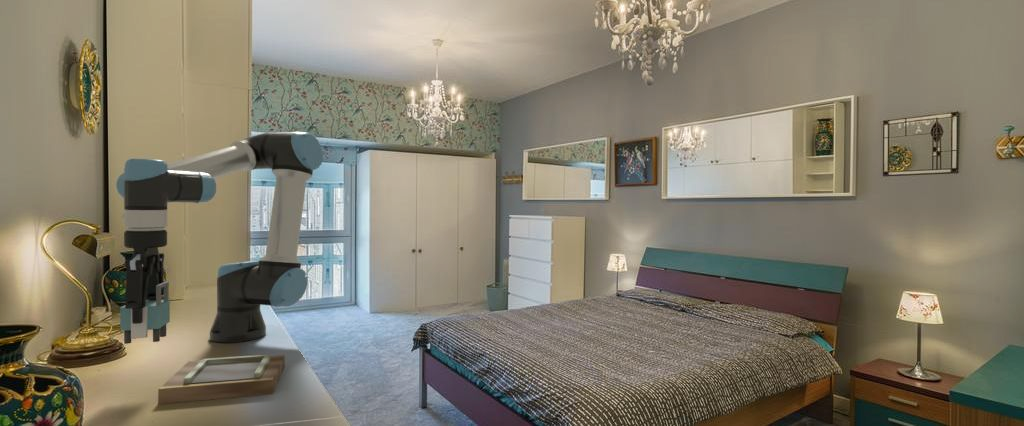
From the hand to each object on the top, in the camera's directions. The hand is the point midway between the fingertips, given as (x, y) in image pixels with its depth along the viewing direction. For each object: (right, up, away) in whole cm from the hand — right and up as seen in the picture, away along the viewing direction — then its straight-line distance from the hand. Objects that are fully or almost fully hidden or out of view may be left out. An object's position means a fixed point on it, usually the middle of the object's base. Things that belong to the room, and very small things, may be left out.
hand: (145, 333), depth 104 cm
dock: (+16, -12, +3) cm, 21 cm away
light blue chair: (0, -1, 0) cm, 1 cm away
